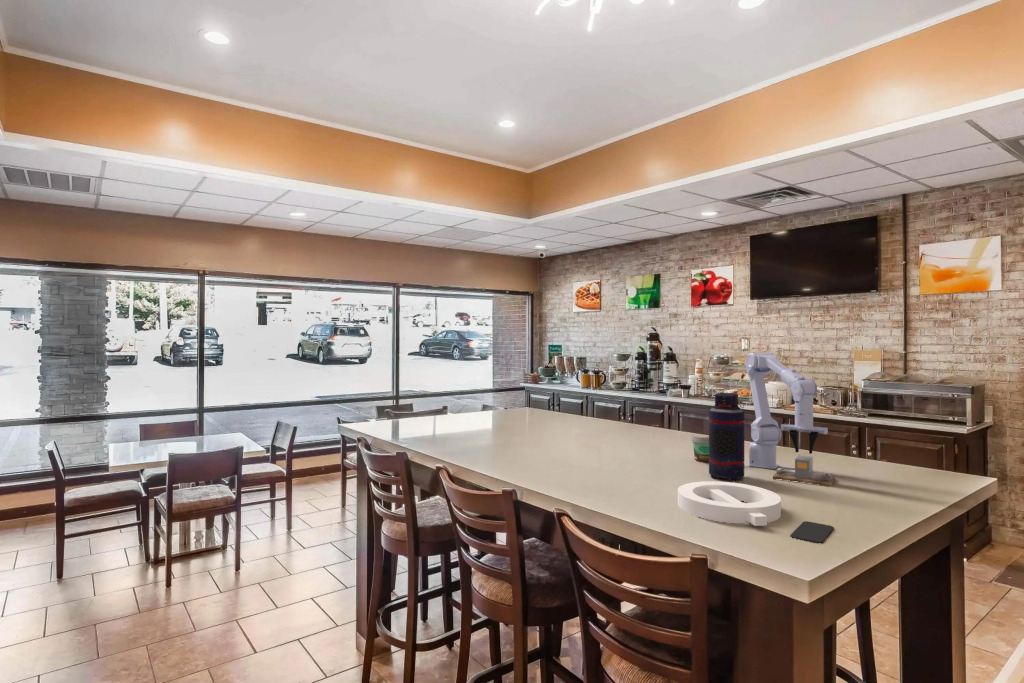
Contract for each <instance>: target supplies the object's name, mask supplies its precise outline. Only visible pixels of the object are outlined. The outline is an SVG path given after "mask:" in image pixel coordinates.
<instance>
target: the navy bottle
mask: <svg viewBox="0 0 1024 683" xmlns="http://www.w3.org/2000/svg"><path fill="white" fill-rule="evenodd" d="M740 400H741V402H742V403H740ZM741 404H742V405H741ZM744 407H745V404H744V401H743V398H741V397H740V396H739V393H737V392H736V393H734V392H718V393H715V394H714V405H713V406H712V407H711V408H710V409H708V419H709V421H708V437H709V459H710V460H709V463H708V474H709V475H710V478H711V477H712V479H713V478H714V479H716V478H722V479H729V481H730V482H737V481H738V479H742V478H744V477H745V422H744V421H745V410H743V409H744Z"/></svg>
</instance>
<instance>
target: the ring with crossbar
mask: <svg viewBox="0 0 1024 683" xmlns="http://www.w3.org/2000/svg"><path fill="white" fill-rule="evenodd" d="M710 498H711V499H710ZM781 498H782V497H780V495H779V494H777V493H775V492H774V491H771V490H769V489H765V488H763V487H760V486H759V487H758V486H754V485H752V484H751V485H750V484H746V483H738V482H732V481H730V482H729V481H713V480H712V481H696V482H693V481H692V482H688V483H685V484H681V485H680V486H679V487H678V488H677V507H678V506H679V507H680V508H681V509H682V510H684V511H686V512H687V513H690V514H692V515H695V516H697V517H696V518H698V517H701V518H700V519H702V518H704V519H703V520H706V519H709V520H708V521H710V520H713V521H712V522H716V521H719V522H718V523H722V522H726V523H725V524H731V523H746V524H745V525H753V526H755V527H760V526H763V527H764V526H768V523H772V522H774V521H778V520H779V519H780V518H781V515H782V507H781V506H782V499H781ZM741 501H744V502H741ZM745 502H747V503H745ZM679 507H678V508H679ZM680 508H679V509H680ZM681 509H680V510H681ZM682 510H681V511H682ZM684 511H683V512H684ZM687 513H686V514H687ZM690 514H689V515H690ZM692 515H691V516H692ZM695 516H694V517H695ZM767 522H768V523H767ZM749 523H751V524H749Z"/></svg>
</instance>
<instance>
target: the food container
mask: <svg viewBox="0 0 1024 683" xmlns="http://www.w3.org/2000/svg"><path fill="white" fill-rule="evenodd" d="M690 441H691V442H692V448H693V454H694V461H695V460H696V462H697V463H702V462H703V464H709V460H710V459H709V436H705V437H699V436H694V435H691V438H690Z"/></svg>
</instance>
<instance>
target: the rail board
mask: <svg viewBox="0 0 1024 683" xmlns="http://www.w3.org/2000/svg"><path fill="white" fill-rule="evenodd" d="M776 479H782V480H781V481H784V480H790V481H789V482H791V481H798V482H797V483H799V482H805V483H804V484H807V483H812V484H811V485H814V484H819V485H818V486H822V485H825V486H824V487H830V486H831V487H832V486H833V484H834V482H835V479H836V478H835V476H833V474H830V473H823V472H815V471H813V472H811V474H810V479H802V478H795V469H790V468H789V469H787V468H783V467H782V468H781V467H777V468H776V473H775V474H773V476H772V480H776Z"/></svg>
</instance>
